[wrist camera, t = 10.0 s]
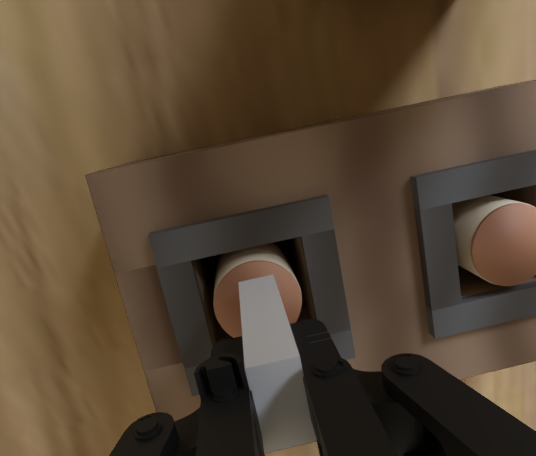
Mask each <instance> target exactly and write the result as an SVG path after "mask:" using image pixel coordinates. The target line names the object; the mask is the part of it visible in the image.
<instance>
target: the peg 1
mask: <svg viewBox="0 0 536 456" xmlns="http://www.w3.org/2000/svg"><path fill="white" fill-rule="evenodd" d="M273 274H274V278H275V281H276V284H277V287H278V290H279V293H280V296H281V299H282V302H283V305H284V309H285V312H286V315H287V318H288V321H289V324H292V323H296V321H297V319H298V317H299V314H300V311H301V306H302V293H301V289H300V286H299V284H298V281H297V279H296V277H295V275H294V273H293V271H292V269H291V267H290V265H289V263H288V261H287V259H286V257H285V255H284V253H283V251H282V249H281V247H280V245H279V243H278V242H273V243H269V244H264V245H260V246H255V247H251V248H246V249H241V250H237V251H232V252H228V253H223V254H219V255H217V260H216V273H215V286H214V299H213V306H214V312H215V315H216V318H217V320H218V322H219V324H220V325H221V326H222V328H223V329H224V330H225V331H226V332H227V333H228V334H229V335H230V336H232V337H233V338H235V337H239V336H242V325H241V312H240V298H239V284H238V282H241V281H246V280H250V279H255V278H259V277H264V276H268V275H273Z"/></svg>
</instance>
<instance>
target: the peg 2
mask: <svg viewBox="0 0 536 456" xmlns="http://www.w3.org/2000/svg"><path fill="white" fill-rule="evenodd" d="M452 210H453V220H454V231H455V241H456V251H457V261H458V265H459V266H461V267H462V268H464V269H466V270H468V271H470V272H471V273H473V274H475V275H477V276H479V277H480V278H482V279H484V280H486V281H487V282H490V283H492V284H496V285H501V286H513V285H518V284H521V283H523V282H526V281H528V280H529V279H531V278H532V277H534V276H535V275H536V207H534V206H532V205H530V204H527V203H523V202H518V201H514V200H510V199H505V198H501V197H496V196H492V195H487V196H482V197H478V198H473V199H469V200H464V201H460V202H455V203H452Z"/></svg>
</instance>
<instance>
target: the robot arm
mask: <svg viewBox="0 0 536 456" xmlns="http://www.w3.org/2000/svg"><path fill="white" fill-rule="evenodd" d="M238 284H239V298H240V312H241V325H242V336H239V337H235V338H231V339H226V340H222V341H218V342H217V343H216V344H215V345H214V347H213V348H212V350H211V355H210V358H209V359H207V360H205V361H203V362H202V363H201V364H200V365H199V366H198V367H196V369H195V372H194V376H195V380H196V384H197V387H198V391H199V395H200V398H201V404H200V407H199V408H198V409H197V410H196V411H194V412H193V413H191V414H189V415H188V416H186V417H184V418H181V419H179V420H177V421H175V422H174V419H173V417H172V416H171V415H170V414H168V413H163V412H157V413H152V414H148V415H145V416H143V417H141V418H139V419H138V420H136V421H135V422H134V423H132V424H131V425H130V426H129V427H128V428H127V429H126V431H125V432H124V433H123V435H122V436H121V438H120V440H119V441H118V443H117V444H116V446H115V447H114V449H113V451H112V452H111V454H110V455H109V456H265V454H266V453H270V452H274V451H278V450H283V449H287V448H291V447H295V446H299V445H303V444H307V443H311V442H316V441H317V444H318V449H319V454H320V456H536V431H534V430H533V429H531V428H530V427H528V426H527V425H525V424H524V423H522V422H521V421H519V420H518V419H517V418H515V417H514V416H512V415H511V414H509V413H508V412H506V411H505V410H503V409H502V408H500V407H499V406H497V405H496V404H494V403H493V402H491V401H490V400H488V399H487V398H485V397H484V396H482V395H481V394H480V393H478V392H477V391H475V390H474V389H472V388H471V387H469V386H468V385H466V384H465V383H463V382H462V381H460V380H459V379H457V378H456V377H454V376H453V375H451V374H450V373H448V372H447V371H445V370H444V369H443V368H441V367H440V366H438V365H437V364H435V363H434V362H432V361H431V360H429V359H428V358H425V357H423V356H421V355H417V354H412V353H402V354H397V355H393V356H391V357H389V358H388V359H386V360H385V361H384V362H383V364H382V365H381V371H373V372H369V371H359V370H355V369H353V368H352V367H351V365H350V364H349V363H348V361H347V360H345V359H342V358H341V356H340V354H339V352H338V350H337V348H336V346H335V344H334V342H333V340H332V339H331V336H330V334H329V332H328V330H327V328H326V326H325V324H324V323H323V322H321V321H319V320H317V319H316V318H314V319H309V320H305V321H300V322H296V323H292V324H289V321H288V318H287V315H286V312H285V309H284V305H283V302H282V299H281V296H280V293H279V290H278V287H277V284H276V281H275V278H274V274H273V275H268V276H264V277H259V278H255V279H250V280H246V281H241V282H238ZM264 452H265V454H264Z"/></svg>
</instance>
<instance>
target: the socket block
mask: <svg viewBox="0 0 536 456" xmlns="http://www.w3.org/2000/svg"><path fill="white" fill-rule="evenodd" d="M85 177H86V180H87V184H88V187H89V190H90V193H91V197H92V200H93V203H94V207H95V210H96V213H97V217H98V220H99V223H100V227H101V230H102V233H103V237H104V240H105V243H106V247H107V250H108V253H109V257H110V260H111V263H112V266H113V270H114V273H115V276H116V280H117V283H118V286H119V290H120V293H121V296H122V300H123V303H124V306H125V310H126V313H127V316H128V320H129V323H130V326H131V330H132V333H133V336H134V339H135V343H136V346H137V349H138V353H139V356H140V359H141V363H142V366H143V369H144V373H145V376H146V379H147V383H148V386H149V389H150V393H151V396H152V399H153V403H154V406H155V409H156V412H163V413H168V414H170V415H171V416H172V417H173V419H174V422H175V421H177V420H179V419H181V418H184V417H186V416H188V415H189V414H191V413H193V412H194V411H196V410H197V409H198V408H199V407H200V404H201V398H200V395H199V391H198V387H197V384H196V380H195V376H194V372H195V369H196V367H198V366H199V365H200V364H201V363H202V362H203V361H205V360H207V359H209V358H210V355H211V350H212V348H213V347H214V345H215V344H216V343H217V342H218V341H222V340H226V339H231V338H233V337H232V336H230V335H229V334H228V333H227V332H226V331H225V330H224V329H223V328H222V326H221V325H220V324H219V322H218V320H217V318H216V315H215V312H214V306H213V299H214V286H215V274H214V270H213V266H212V262H211V258H210V256H214V255H219V254H223V253H228V252H232V251H237V250H241V249H246V248H251V247H255V246H260V245H264V244H269V243H273V242H278V241H282V240H285V243H286V248H287V253H288V258H289V263H290V267H291V269H292V271H293V273H294V275H295V277H296V279H297V281H298V284H299V286H300V289H301V293H302V306H301V311H300V314H299V317H298V319H297V321H296V322H300V321H305V320H309V319H314V318H316V319H317V320H319V321H321V322H323V323H324V324H325V326H326V328H327V330H328V332H329V334H330V336H331V339H332V340H333V342H334V344H335V346H336V348H337V350H338V352H339V354H340V356H341V358H342V359H345V360H347V361H348V363H349V364H350V365H351V367H352V368H353V369H355V370H359V371H369V372H373V371H381V365H382V364H383V362H384V361H385V360H386V359H388V358H389V357H391V356H393V355H397V354H402V353H412V354H417V355H421V356H423V357H425V358H428V359H429V360H431V361H432V362H434V363H435V364H437V365H438V366H440V367H441V368H443V369H444V370H445V371H447V372H448V373H450V374H451V375H453V376H454V377H456V378H457V379H464V378H468V377H472V376H476V375H480V374H484V373H488V372H492V371H497V370H501V369H505V368H509V367H513V366H517V365H521V364H525V363H529V362H534V361H536V275H535V276H534V277H532V278H531V279H529V280H528V281H526V282H523V283H521V284H518V285H513V286H501V285H496V284H492V283H490V282H487V281H486V280H484V279H482V278H480V277H479V276H477V275H475V274H473V273H471V272H470V271H468V270H466V269H464V268H462V267H461V266H459V265H458V261H457V251H456V241H455V231H454V220H453V210H452V203H455V202H460V201H464V200H469V199H473V198H478V197H482V196H487V195H492V196H496V197H501V198H505V199H510V200H514V201H518V202H523V203H527V204H530V205H532V206H534V207H536V80H532V81H526V82H521V83H515V84H510V85H504V86H499V87H494V88H489V89H484V90H479V91H475V92H470V93H465V94H460V95H455V96H450V97H446V98H441V99H436V100H431V101H426V102H421V103H416V104H412V105H407V106H402V107H397V108H392V109H387V110H383V111H378V112H373V113H368V114H363V115H358V116H354V117H349V118H344V119H339V120H334V121H329V122H324V123H320V124H315V125H310V126H305V127H300V128H295V129H291V130H286V131H281V132H276V133H271V134H266V135H261V136H257V137H252V138H247V139H242V140H237V141H232V142H228V143H223V144H218V145H213V146H208V147H203V148H199V149H194V150H189V151H184V152H179V153H174V154H169V155H165V156H160V157H155V158H150V159H145V160H140V161H136V162H131V163H126V164H123V165H119V166H116V167H112V168H108V169H105V170H101V171H98V172H94V173H90V174H87V175H85Z"/></svg>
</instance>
